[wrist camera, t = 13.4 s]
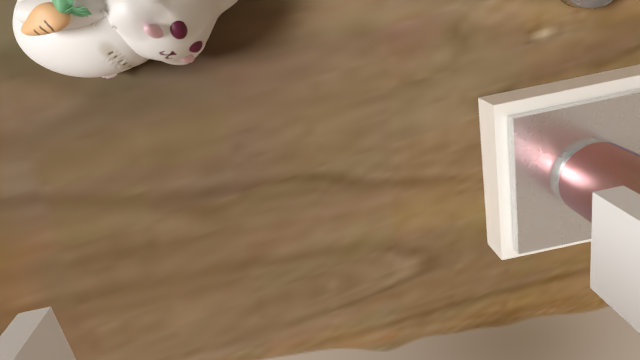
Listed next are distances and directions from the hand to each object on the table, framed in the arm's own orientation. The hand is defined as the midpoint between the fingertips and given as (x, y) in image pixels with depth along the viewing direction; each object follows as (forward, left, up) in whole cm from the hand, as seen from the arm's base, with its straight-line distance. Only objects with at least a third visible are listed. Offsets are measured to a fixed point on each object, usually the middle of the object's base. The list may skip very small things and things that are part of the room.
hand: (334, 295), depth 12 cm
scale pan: (+11, +22, -26) cm, 36 cm away
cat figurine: (-8, -9, -29) cm, 31 cm away
